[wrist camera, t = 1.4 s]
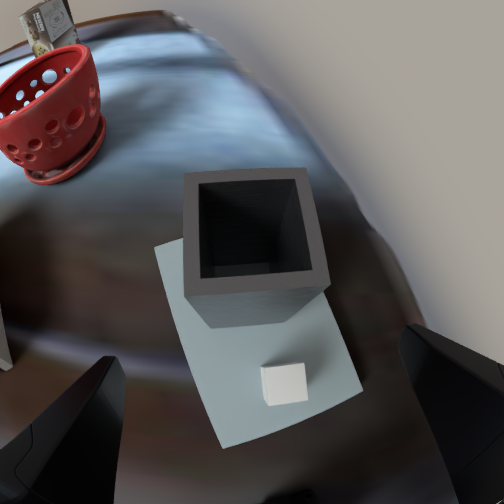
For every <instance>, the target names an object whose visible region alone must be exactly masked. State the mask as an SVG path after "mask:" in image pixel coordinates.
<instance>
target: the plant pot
mask: <svg viewBox="0 0 504 504" xmlns="http://www.w3.org/2000/svg"><path fill="white" fill-rule="evenodd" d="M66 68H69V69H70V70H71V71H70V72H69V73H67V72H66ZM47 70H53V71H55V72H56V74H57V79H56V80H55V81H54V82H53V83H45V82H44V81H43V79H42V74H43V73H44V72H45V71H47ZM33 80H37V85H36V86H34V87H31V86H30V83H31V81H33ZM20 90H23V92H24V96H23V98H22V99H21V100H17V99H16V94H17V92H18V91H20ZM40 90H43V91H44V94H42V95H41V96H40V97H38V98H37V99H36V98H35V95H36V93H37V92H38V91H40ZM26 101H29V102H30V103H29V104H28V105H26V106H25V107H24V103H25V102H26ZM14 110H15V111H16V112H15V113H13V114H10V113H11V112H12V111H14ZM0 112H1V113H2V114H3V119H0V150H1V151H2V152H3V153H4V154H5V155H6V157H7V158H9V159H10V160H11V161H12V162H14V163H15V164H17V165H19V166H21V167H23V168H24V172H25V175H26V177H27V178H28V179H29V180H30V181H31V182H33V183H35V184H38V185H51V184H55V183H58V182H61V181H63V180H65V179H67V178H69V177H71V176H72V175H74V174H75V173H77V172H78V171H79V170H81V169H82V168H83V167H84V166H85V165H86V164H87V163H88V162H89V161H90V160H91V159H92V158H93V156H94V155H95V154H96V152H97V151H98V149H99V148H100V146H101V144H102V142H103V139H104V136H105V132H106V121H105V118H104V116H103V115H102V114H101V113H100V89H99V82H98V77H97V72H96V68H95V64H94V61H93V57H92V54H91V51H90V49H89V48H88V47H87V46H85V45H82V44H73V45H68V46H63V47H60V48H57V49H54V50H52V51H49V52H47V53H45V54H43V55H41V56H39V57H37V58H36V59H34V60H32V61H30V62H29V63H28V64H26V65H25V66H23V67H22V68H20V69H19V70H18V71H17V72H15V73H14V74H13V75H12V76H11V77H9V78H8V79H7V80H6V81H5V82H4V83H3V84H2V85H1V86H0Z"/></svg>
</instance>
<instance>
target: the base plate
mask: <svg viewBox="0 0 504 504" xmlns="http://www.w3.org/2000/svg"><path fill="white" fill-rule="evenodd" d="M154 249H155V253H156V257H157V261H158V265H159V269H160V272H161V276H162V280H163V284H164V287H165V291H166V294H167V298H168V301H169V305H170V308H171V311H172V315H173V318H174V321H175V325H176V328H177V331H178V334H179V337H180V340H181V343H182V346H183V349H184V352H185V355H186V358H187V361H188V364H189V366H190V369H191V372H192V375H193V377H194V380H195V383H196V385H197V388H198V391H199V393H200V396H201V398H202V401H203V403H204V406H205V408H206V411H207V413H208V416H209V418H210V421H211V423H212V425H213V428H214V430H215V432H216V435H217V437H218V439H219V441H220V444H221V446H222V448H223V449H224V448H227V447H230V446H234V445H237V444H240V443H244V442H247V441H250V440H253V439H256V438H259V437H262V436H264V435H267V434H270V433H273V432H275V431H278V430H281V429H283V428H286V427H288V426H291V425H293V424H295V423H298V422H300V421H303V420H305V419H307V418H309V417H312V416H314V415H316V414H318V413H321V412H323V411H325V410H327V409H329V408H331V407H333V406H335V405H337V404H339V403H341V402H343V401H345V400H347V399H349V398H351V397H353V396H355V395H356V394H358V393H360V392H362V391H363V389H362V386H361V384H360V381H359V378H358V376H357V373H356V371H355V368H354V365H353V363H352V360H351V358H350V355H349V353H348V350H347V348H346V345H345V343H344V340H343V338H342V335H341V333H340V330H339V328H338V325H337V323H336V321H335V318H334V316H333V313H332V311H331V309H330V306H329V304H328V302H327V299H326V297H325V295H324V292H321V293H320V294H319V295H318V296H316V297H315V298H314V299H313V300H312V301H310V302H309V303H308V304H307V305H305V306H304V307H303V308H302V309H301V310H299V311H298V312H297V313H296V314H294V315H293V316H292V317H290V318H289V319H288V320H287V321H285V322H284V323H275V324H265V325H255V326H243V327H230V328H216V329H210V327H209V326H208V325H207V324H206V323H205V322H204V320H203V319H202V318H201V317H200V316H199V314H198V313H197V312H196V311H195V310H194V308H193V307H192V306H191V305H190V304H189V302H188V301H187V300H186V299H185V297H184V283H183V238H181V239H178V240H175V241H172V242H169V243H166V244H163V245H160V246H157V247H154ZM261 274H270V270H269V263H255V264H242V265H228V266H215V275H216V278H220V277H234V276H248V275H261Z"/></svg>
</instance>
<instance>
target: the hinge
mask: <svg viewBox="0 0 504 504" xmlns="http://www.w3.org/2000/svg"><path fill="white" fill-rule="evenodd" d="M12 367H13V364H12V360H11V356H10V352H9V348H8V344H7V339H6V334H5V329H4V324H3V318H2V312H1V305H0V368H1V369H3V370H5V371H8V370H9V369H11V368H12Z"/></svg>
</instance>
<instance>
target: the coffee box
mask: <svg viewBox="0 0 504 504" xmlns="http://www.w3.org/2000/svg"><path fill="white" fill-rule="evenodd" d="M19 18H20V21H21V24H22V26H23V29H24V32H25V34H26V36H27V39H28V41H29V44H30V46H31V48H32V51H33V53H34V55H35V57H36V58H37V57H39V56H41V55H43V54H45V53H47V52H49V51H52V50H54V49H57V48H60V47H63V46H68V45H73V44H80V41H79V38H78V35H77V32H76V28H75V25H74V22H73V19H72V15H71V12H70V8H69V4H68V1H67V0H44V1H42V2H40V3H38V4H37V5H35V6H34V7H32V8H31V9H29V10H28V11H27V12H25V13H24V14H22V15H21V16H19ZM47 71H50V70H47Z"/></svg>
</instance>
